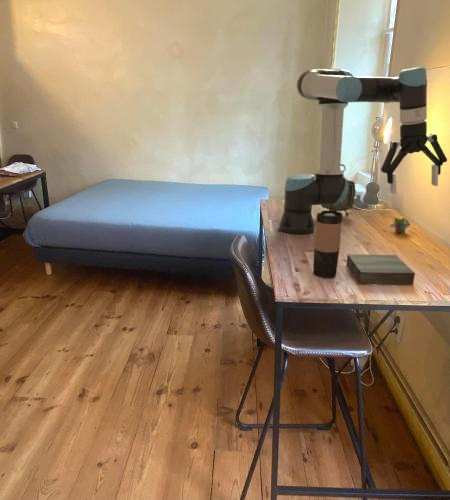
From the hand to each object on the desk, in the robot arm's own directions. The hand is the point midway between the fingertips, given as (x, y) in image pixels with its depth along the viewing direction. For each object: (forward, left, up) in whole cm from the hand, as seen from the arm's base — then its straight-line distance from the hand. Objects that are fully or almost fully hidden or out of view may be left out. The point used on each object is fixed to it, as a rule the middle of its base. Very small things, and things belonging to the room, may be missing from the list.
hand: (413, 189), depth 138 cm
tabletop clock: (-64, -9, -26) cm, 70 cm away
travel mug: (+12, -29, -26) cm, 41 cm away
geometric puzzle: (-36, +12, -26) cm, 46 cm away
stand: (+12, -12, -26) cm, 31 cm away
